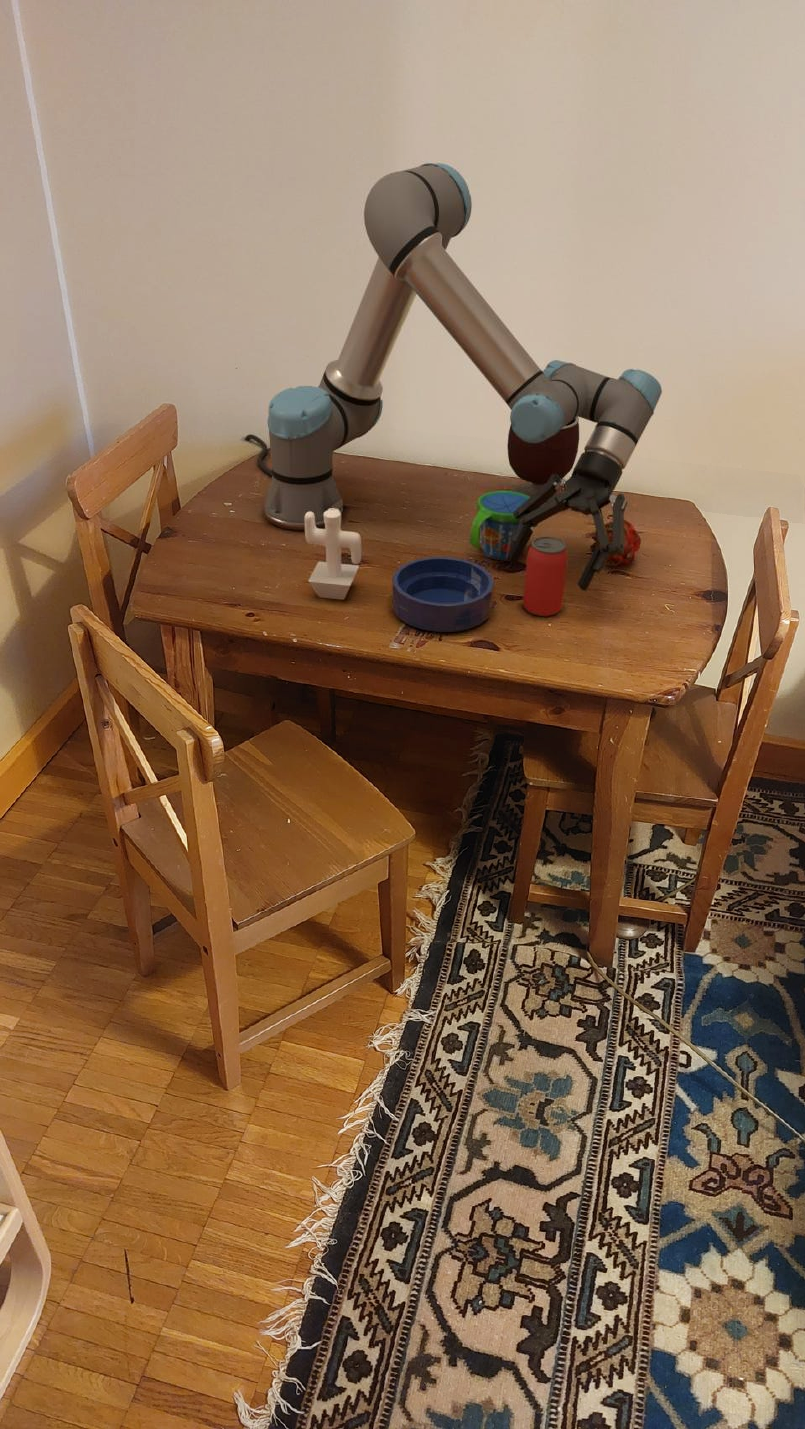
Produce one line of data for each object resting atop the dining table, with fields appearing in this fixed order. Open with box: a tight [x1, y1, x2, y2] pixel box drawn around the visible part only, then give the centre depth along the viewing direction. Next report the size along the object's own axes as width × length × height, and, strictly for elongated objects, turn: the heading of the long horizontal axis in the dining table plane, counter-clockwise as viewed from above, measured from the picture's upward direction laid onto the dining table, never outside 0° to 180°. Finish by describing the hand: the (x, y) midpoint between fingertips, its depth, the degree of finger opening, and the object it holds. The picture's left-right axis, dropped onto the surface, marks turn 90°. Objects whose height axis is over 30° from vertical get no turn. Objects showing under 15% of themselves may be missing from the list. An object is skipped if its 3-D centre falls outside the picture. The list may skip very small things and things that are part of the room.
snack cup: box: [468, 490, 539, 562], centre depth 183 cm, size 16×10×10 cm
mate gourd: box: [507, 416, 580, 506], centre depth 200 cm, size 16×14×20 cm
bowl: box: [391, 556, 495, 633], centre depth 168 cm, size 17×17×6 cm
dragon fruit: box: [589, 519, 642, 567], centre depth 183 cm, size 8×8×12 cm
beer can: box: [522, 535, 569, 617], centre depth 167 cm, size 7×7×12 cm
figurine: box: [304, 508, 362, 601], centre depth 169 cm, size 7×9×15 cm
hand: (545, 574), depth 166 cm, fingers open, 13 cm apart
